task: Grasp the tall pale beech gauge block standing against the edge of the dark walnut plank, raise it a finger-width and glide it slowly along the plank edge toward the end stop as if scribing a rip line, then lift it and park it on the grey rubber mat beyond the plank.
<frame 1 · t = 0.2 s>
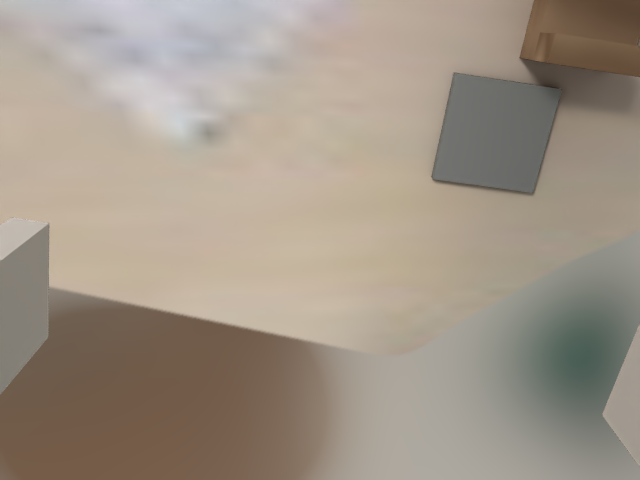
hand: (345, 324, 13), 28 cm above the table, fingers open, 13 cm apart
mat: (493, 133, 39), on the table
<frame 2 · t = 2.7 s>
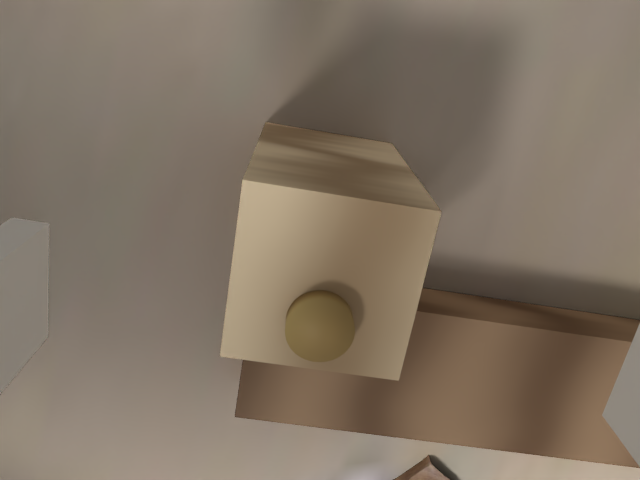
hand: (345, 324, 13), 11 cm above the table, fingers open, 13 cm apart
gauge: (318, 193, 24), on the table
plank: (511, 362, 27), on the table
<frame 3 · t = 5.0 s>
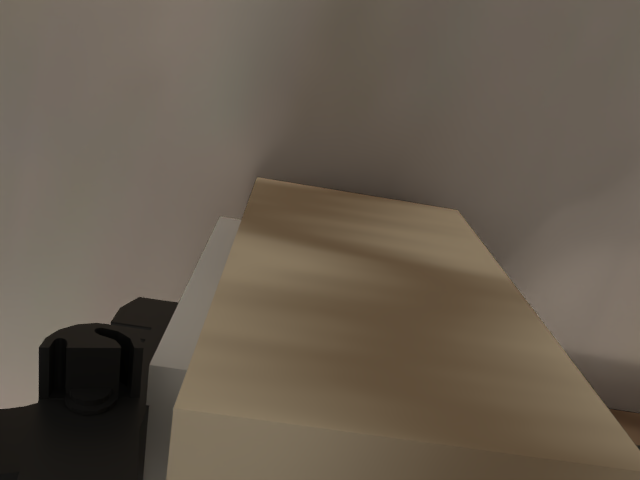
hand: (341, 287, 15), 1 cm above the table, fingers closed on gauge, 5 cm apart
gauge: (339, 285, 15), point 1 cm above the table, touching gripper
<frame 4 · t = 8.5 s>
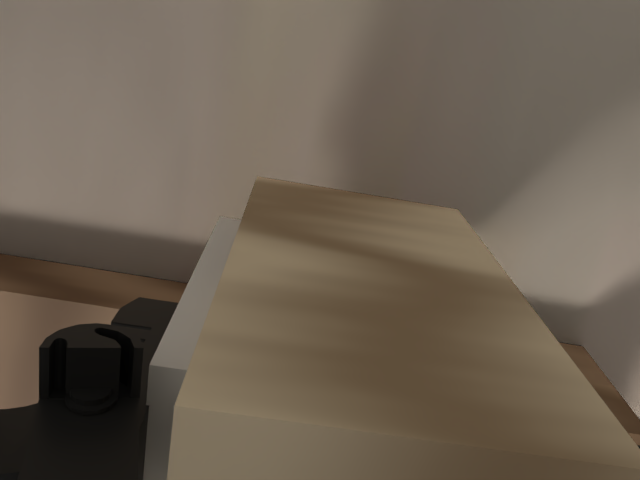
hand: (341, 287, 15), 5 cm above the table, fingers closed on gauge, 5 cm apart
gauge: (340, 284, 15), point 5 cm above the table, touching gripper
plank: (240, 366, 21), on the table
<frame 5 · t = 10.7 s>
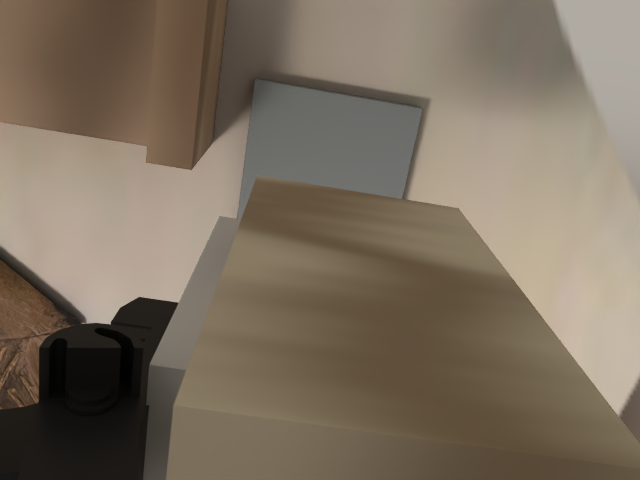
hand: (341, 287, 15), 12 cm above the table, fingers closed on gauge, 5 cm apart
wooden fragment: (10, 388, 30), on the table
gauge: (340, 283, 15), point 11 cm above the table, touching gripper
mat: (324, 172, 26), on the table
when the fingers open (2 cm above the table, at t = 12.2 s): gauge drops 1 cm, resting on mat.
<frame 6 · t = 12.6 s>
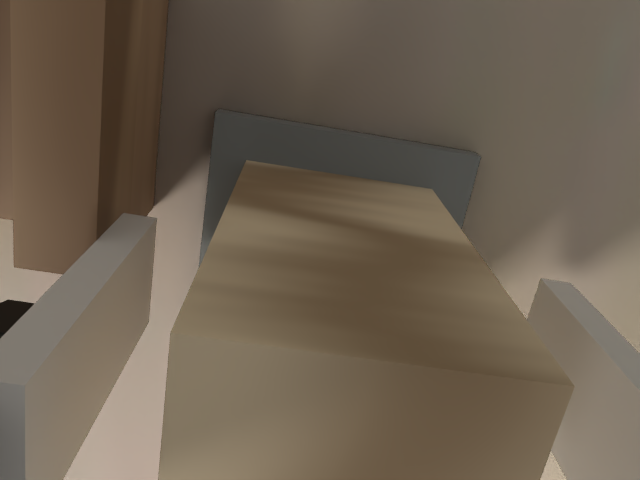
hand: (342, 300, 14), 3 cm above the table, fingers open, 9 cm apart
gauge: (324, 260, 16), point 1 cm above the table, touching mat
mat: (326, 250, 17), on the table
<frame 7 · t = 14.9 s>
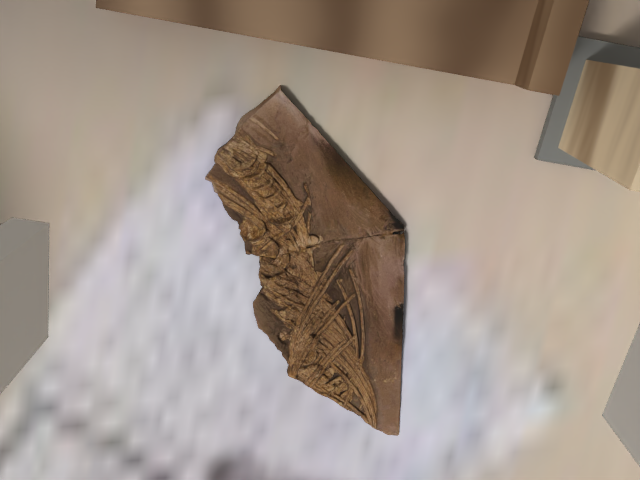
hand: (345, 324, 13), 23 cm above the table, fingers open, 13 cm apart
wooden fragment: (331, 281, 39), on the table
gauge: (614, 112, 33), point 1 cm above the table, touching mat
mat: (611, 109, 34), on the table
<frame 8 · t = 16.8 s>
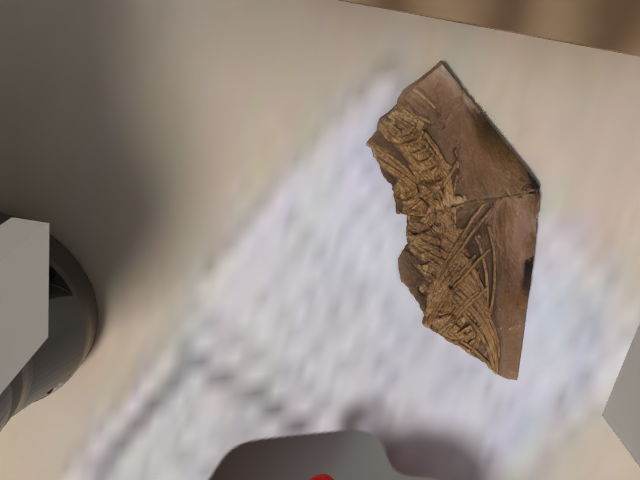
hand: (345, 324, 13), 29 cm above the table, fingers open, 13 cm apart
wooden fragment: (467, 238, 44), on the table
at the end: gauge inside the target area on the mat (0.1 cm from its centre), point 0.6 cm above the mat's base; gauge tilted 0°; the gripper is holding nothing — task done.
